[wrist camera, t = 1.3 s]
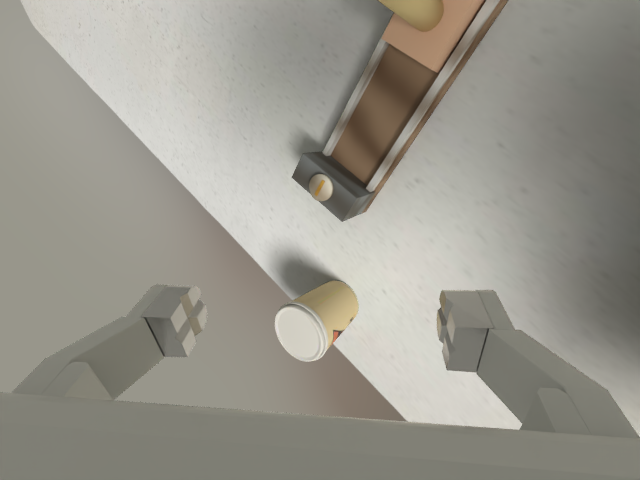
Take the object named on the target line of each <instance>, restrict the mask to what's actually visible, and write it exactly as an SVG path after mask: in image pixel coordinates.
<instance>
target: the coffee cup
mask: <svg viewBox="0 0 640 480" xmlns="http://www.w3.org/2000/svg"><path fill="white" fill-rule="evenodd" d="M358 309H359V303H358V299H357V296H356V294H355V293H354V291H353V290H352V289H351V288H350V287H349V286H348V285H347V284H345V283H343V282H341V281H336V280H335V281H329V282H327V283H325V284H323V285H321V286H319V287H317V288H315V289H313V290H312V291H310V292H308V293H306V294H304V295H302V296H300V297H298V298H297V299H295V300H293V301H291V302H288V303H286V304H284V305H283V306H282V307H281V308H280V309H279V311H278V313H277V315H276V318H275V330H276V334H277V336H278V339H279V341H280V343H281V344H282V346H283V347H284V348H285V349H286V351H288V353H289V354H291V355H292V356H293V357H295V358H297V359H299V360H302V361H307V362H308V361H314V360H317V359H319V358H321V357H322V356H323V355H324V354H325V352H326V350H327V349H328V348H329V347H330V346H331V345H332V344H333V342H334V341H335V340H336V339H337V338H338V337H339V336H340V334H341V333H342V332H343V331H344V330H345V329H346V327H347V326H348V325H349V324H350V323H351V322H352V320H353V319H354V318H355V317H356V315H357V313H358Z"/></svg>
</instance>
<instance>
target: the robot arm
mask: <svg viewBox="0 0 640 480" xmlns="http://www.w3.org/2000/svg"><path fill="white" fill-rule="evenodd" d="M200 297H201V292H200V290H199V288H198V287H196V286H187V285H154V286H152V287H151V288H150V289H149V290H148V291H147V293H146V294H145V295H144V296H143V297H142V299H141V300H140V301H139V302H138V303H137V304H136V305H135V307H134V308H133V309H132V310H131V311H130V312H129V314H128V315H127V316H126V317H121V318H119V319H117V320H115V321H113V322H111V323H109V324H108V325H106V326H104V327H102V328H100V329H98V330H97V331H95V332H93V333H91V334H89V335H88V336H86V337H84V338H82V339H80V340H79V341H77V342H75V343H73V344H71V345H69V346H67V347H66V348H64V349H62V350H60V351H58V352H56V353H55V354H53V355H51V356H49V357H48V358H45V359H44V360H43V361H42V362H41V363H40V364H39V365H38V366H37V367H36V368H35V369H34V370H33V372H31V373H30V374H29V375H28V377H26V378H25V379H24V380H23V381H22V382H21V384H19V385H18V386H17V388H16V389H14V391H12V393H4V392H0V480H640V437H639V436H638V434H637V433H636V431H635V430H634V429H633V427H632V426H631V424H630V423H629V421H628V420H627V418H626V417H625V415H624V414H623V412H622V411H621V409H620V408H619V406H618V405H617V404H616V402H615V401H614V399H613V398H612V396H611V395H610V393H609V392H608V390H606V389H605V388H603V387H602V386H601V385H599V384H598V383H596V382H595V381H593V380H592V379H590V378H589V377H588V376H586V375H585V374H583V373H582V372H580V371H579V370H577V369H576V368H575V367H573V366H572V365H570V364H569V363H567V362H566V361H564V360H563V359H562V358H560V357H559V356H557V355H556V354H554V353H553V352H551V351H550V350H549V349H547V348H546V347H544V346H543V345H541V344H540V343H539V342H537V341H536V340H534V339H533V338H531V337H530V336H528V335H527V334H526V333H524V332H523V331H521V330H515V328H514V326H513V325H512V323H511V321H510V319H509V317H508V315H507V313H506V311H505V309H504V307H503V305H502V303H501V301H500V300H499V298H498V296H497V294H496V292H495V291H493V290H476V291H472V290H442V291H441V294H440V299H439V300H440V304H441V308H440V309H439V310H438V313H437V331H438V336H439V340H440V341H441V342H442V343H443V350H442V353H443V357H444V361H445V365H446V369H447V370H452V371H465V372H477V375H478V376H479V377H480V378H481V379H482V380H483V381H484V382H485V383H486V385H487V386H488V387H489V388H490V389H491V390H492V391H493V392H494V393H495V394H496V395H497V396H498V398H499V399H500V400H501V401H502V402H503V403H504V404H505V405H506V406H507V407H508V408H509V410H510V411H511V412H512V413H513V414H514V415H515V416H516V417H517V418H518V419H519V420H520V422H521V423H522V426H521V428H520V430H513V429H500V428H486V427H472V426H459V425H445V424H431V423H418V422H403V421H390V420H376V419H362V418H348V417H334V416H319V415H306V414H293V413H279V412H265V411H252V410H238V409H224V408H210V407H197V406H184V405H169V404H155V403H143V402H129V401H115V400H114V399H115V398H117V397H118V396H119V395H120V394H121V393H123V392H124V391H125V390H126V389H128V388H129V387H130V386H131V385H132V384H134V383H135V382H136V381H137V380H138V379H139V378H141V377H142V376H143V375H144V374H145V373H147V372H148V371H149V370H150V369H151V368H153V367H154V366H155V365H156V364H157V363H159V362H160V361H161V360H162V359H163V358H164V357H188V356H189V354H190V352H191V350H192V348H193V347H194V345H195V343H196V338H195V336H196V335H197V334H198V333H200V332H201V331H202V330H203V328H204V326H205V324H206V320H207V309H206V306H205V304H204V303H203V302H202V301H200V300H199V299H200Z"/></svg>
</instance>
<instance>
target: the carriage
mask: <svg viewBox="0 0 640 480" xmlns="http://www.w3.org/2000/svg"><path fill="white" fill-rule="evenodd" d="M378 1H379V2H381V3H382V4H383V5H385V6H386V7H387V8H389V9H390V10H392V11H393V12H394V14H393V16H392V18H391V20H390V22H389V24H388V26H387V28H386V30H385V32H384V34H383V36H382V38H381V39H383V40H384V41H386V42H388V43H389V44H391V45H392V46H394V47H396V48H397V49H399V50H400V51H402V52H404V53H405V54H407V55H408V56H410V57H412V58H413V59H415V60H416V61H418V62H420V63H421V64H423V65H424V66H426V67H428V68H429V69H431V70H433V71H435V72H437V73H439V72H440V70H441V69H442V67H443V66H444V64H445V63H446V61H447V59H448V58H449V56H450V55H451V53H452V52H453V50H454V49H455V47H456V45H457V44H458V42H459V41H460V39H461V38H462V36H463V34H464V33H465V31H466V30H467V28H468V27H469V25H470V23H471V22H472V20H473V19H474V17H475V16H476V14H477V13H478V11H479V9H480V8H481V6H482V5H483V3H484V2H485V0H378Z"/></svg>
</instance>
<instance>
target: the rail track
mask: <svg viewBox="0 0 640 480" xmlns="http://www.w3.org/2000/svg"><path fill="white" fill-rule="evenodd" d="M507 1H508V0H485V2H484V3H483V5H482V6H481V8H480V9H479V11H478V13H477V14H476V16H475V17H474V19H473V20H472V22H471V23H470V25H469V27H468V28H467V30H466V31H465V33H464V34H463V36H462V38H461V39H460V41H459V42H458V44H457V45H456V47H455V49H454V50H453V52H452V53H451V55H450V56H449V58H448V59H447V61H446V63H445V64H444V66H443V67H442V69H441V70H440V72H439V73H437V72H435V71H433V70H431V69H429V68H428V67H426V66H424V65H423V64H421V63H420V62H418V61H416V60H415V59H413V58H412V57H410V56H408V55H407V54H405V53H404V52H402V51H400V50H399V49H397V48H396V47H394V46H392V45H391V44H389V43H388V42H386V41H384V40H383V39H380V40H379V42H378V44H377V46H376V48H375V50H374V52H373V54H372V56H371V58H370V60H369V62H368V64H367V66H366V68H365V70H364V72H363V74H362V76H361V78H360V80H359V82H358V84H357V86H356V88H355V90H354V91H353V93H352V95H351V97H350V99H349V101H348V103H347V105H346V107H345V109H344V111H343V113H342V115H341V117H340V119H339V121H338V123H337V125H336V127H335V129H334V131H333V133H332V135H331V137H330V139H329V141H328V143H327V144H326V146H325V148H324V150H323V152H313V153H303V155H302V157H301V159H300V161H299V163H298V165H297V167H296V169H295V171H294V174H293V176H292V178H293V179H294V180H295V181H296V182H298V183H299V184H300V185H301V186H302V187H303V188H304V189H305V190H307V191H308V192H309V193H310V194H311V195H312V197H313V198H314V199H316V200H317V201H319V202H320V203H321V204H322V205H324V206H325V207H326V208H327V209H328V210H329V211H330V212H332V213H333V214H334V215H335V216H336V217H337V218H338V219H340V220H341V221H342V222H343V221H345V220H347V219H350V218H352V217H354V216H357V215H359V214H361V213H364V212H366V210H367V209H368V208H369V206H370V205H371V203H372V202H373V200H374V199H375V197H376V196H377V194H378V193H379V191H380V190H381V188H382V187H383V185H384V184H385V182H386V181H387V179H388V178H389V176H390V175H391V173H392V172H393V170H394V169H395V167H396V166H397V165H398V163H399V162H400V160H401V159H402V157H403V156H404V154H405V153H406V151H407V150H408V148H409V147H410V145H411V144H412V142H413V141H414V139H415V138H416V136H417V135H418V133H419V132H420V130H421V129H422V127H423V126H424V124H425V123H426V122H427V120H428V119H429V117H430V116H431V114H432V113H433V111H434V110H435V108H436V107H437V105H438V104H439V102H440V101H441V99H442V98H443V96H444V95H445V93H446V92H447V90H448V89H449V87H450V86H451V84H452V83H453V82H454V80H455V79H456V77H457V76H458V74H459V73H460V71H461V70H462V68H463V67H464V65H465V64H466V62H467V61H468V59H469V58H470V56H471V55H472V53H473V52H474V50H475V49H476V47H477V46H478V44H479V43H480V41H481V40H482V39H483V37H484V36H485V34H486V33H487V31H488V30H489V28H490V27H491V25H492V24H493V22H494V21H495V19H496V18H497V16H498V15H499V13H500V12H501V10H502V9H503V7H504V6H505V4H506V3H507ZM393 14H394V13H393ZM392 16H393V15H392ZM391 18H392V17H391ZM390 20H391V19H390ZM389 22H390V21H389ZM388 24H389V23H388ZM387 26H388V25H387ZM386 28H387V27H386ZM385 30H386V29H385ZM384 32H385V31H384ZM383 34H384V33H383ZM382 36H383V35H382ZM381 38H382V37H381Z"/></svg>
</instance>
